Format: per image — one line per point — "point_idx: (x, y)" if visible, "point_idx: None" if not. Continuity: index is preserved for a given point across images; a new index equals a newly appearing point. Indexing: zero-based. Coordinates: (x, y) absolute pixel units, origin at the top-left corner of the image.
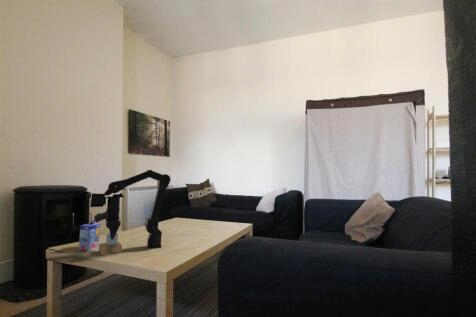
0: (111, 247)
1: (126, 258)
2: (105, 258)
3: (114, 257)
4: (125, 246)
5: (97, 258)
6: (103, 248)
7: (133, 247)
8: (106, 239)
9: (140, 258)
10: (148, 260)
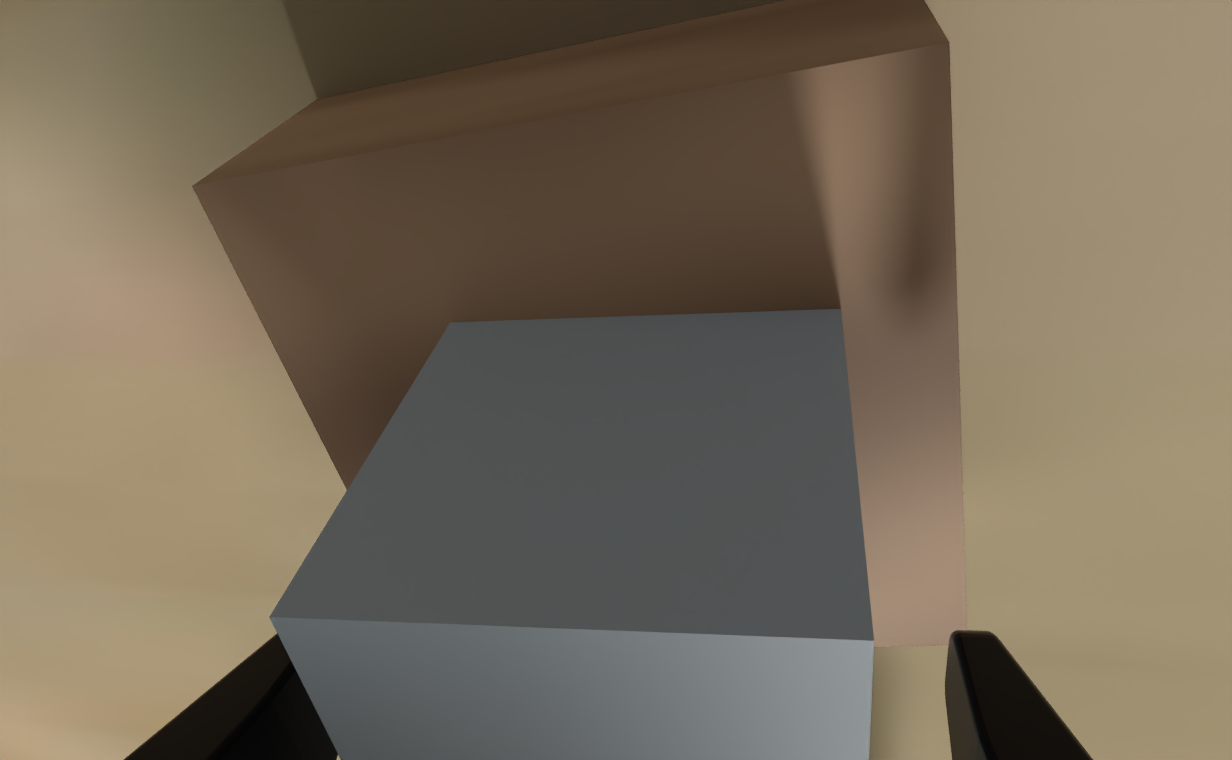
0: (344, 443)
1: (90, 561)
2: (68, 232)
3: (148, 397)
4: (1088, 625)
5: (55, 41)
6: (244, 242)
7: (878, 725)
8: (358, 474)
9: (99, 702)
10: (14, 751)
